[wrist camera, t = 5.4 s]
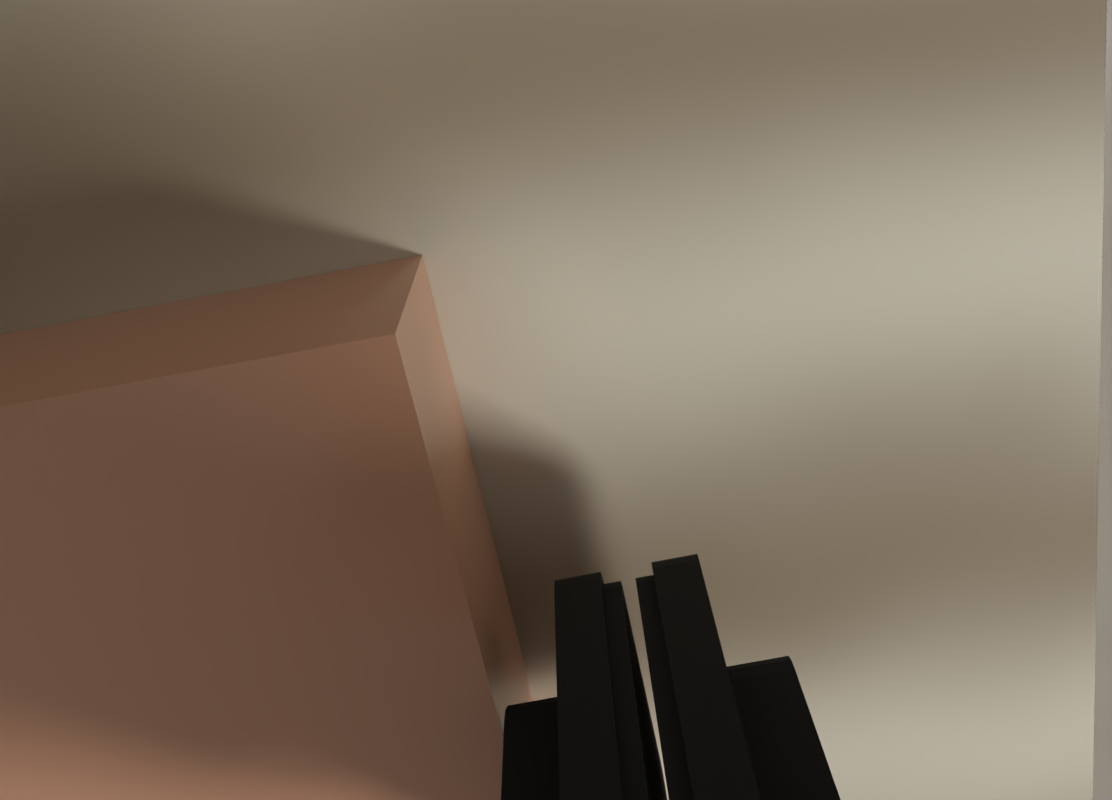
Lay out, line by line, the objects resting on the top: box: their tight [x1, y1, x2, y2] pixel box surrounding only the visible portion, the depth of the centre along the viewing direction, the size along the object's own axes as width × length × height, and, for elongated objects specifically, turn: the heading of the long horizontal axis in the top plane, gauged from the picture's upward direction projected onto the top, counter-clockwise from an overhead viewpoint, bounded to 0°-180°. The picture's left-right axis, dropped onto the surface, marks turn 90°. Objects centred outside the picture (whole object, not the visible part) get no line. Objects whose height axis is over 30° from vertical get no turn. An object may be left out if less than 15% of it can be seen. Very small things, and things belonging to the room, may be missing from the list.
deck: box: [0, 0, 1107, 800], centre depth 15 cm, size 22×14×4 cm, turn 11°
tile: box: [0, 255, 534, 800], centre depth 12 cm, size 10×7×2 cm
